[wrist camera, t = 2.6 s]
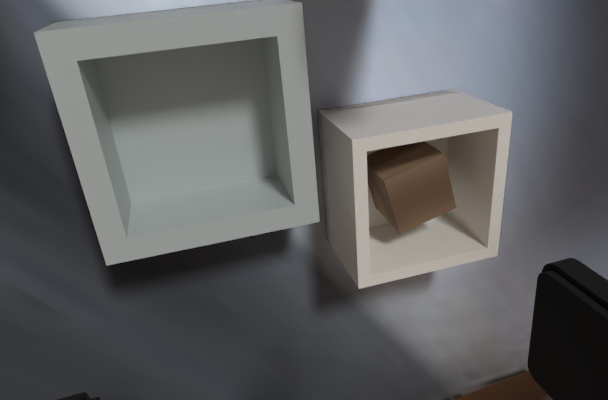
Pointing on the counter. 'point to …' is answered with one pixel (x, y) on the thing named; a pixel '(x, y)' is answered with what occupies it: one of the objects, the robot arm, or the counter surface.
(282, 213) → the grey tub
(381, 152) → the walnut block
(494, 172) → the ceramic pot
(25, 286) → the counter surface
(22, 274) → the counter surface
